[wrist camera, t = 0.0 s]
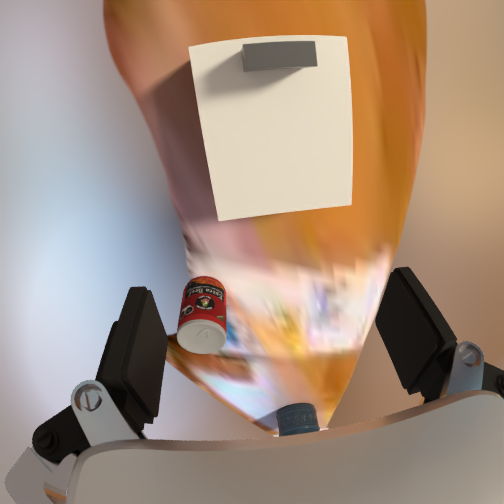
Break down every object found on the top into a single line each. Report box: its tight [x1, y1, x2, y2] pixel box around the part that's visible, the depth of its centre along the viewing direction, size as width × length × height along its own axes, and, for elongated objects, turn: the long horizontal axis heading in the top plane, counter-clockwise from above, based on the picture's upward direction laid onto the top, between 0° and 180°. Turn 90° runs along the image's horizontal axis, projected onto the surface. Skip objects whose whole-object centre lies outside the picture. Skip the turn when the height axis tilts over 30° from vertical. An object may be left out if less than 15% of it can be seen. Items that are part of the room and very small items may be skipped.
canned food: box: [177, 276, 226, 354], centre depth 47 cm, size 8×8×11 cm
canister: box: [277, 403, 320, 437], centre depth 76 cm, size 13×13×18 cm
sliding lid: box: [189, 35, 353, 221], centre depth 26 cm, size 20×16×6 cm
